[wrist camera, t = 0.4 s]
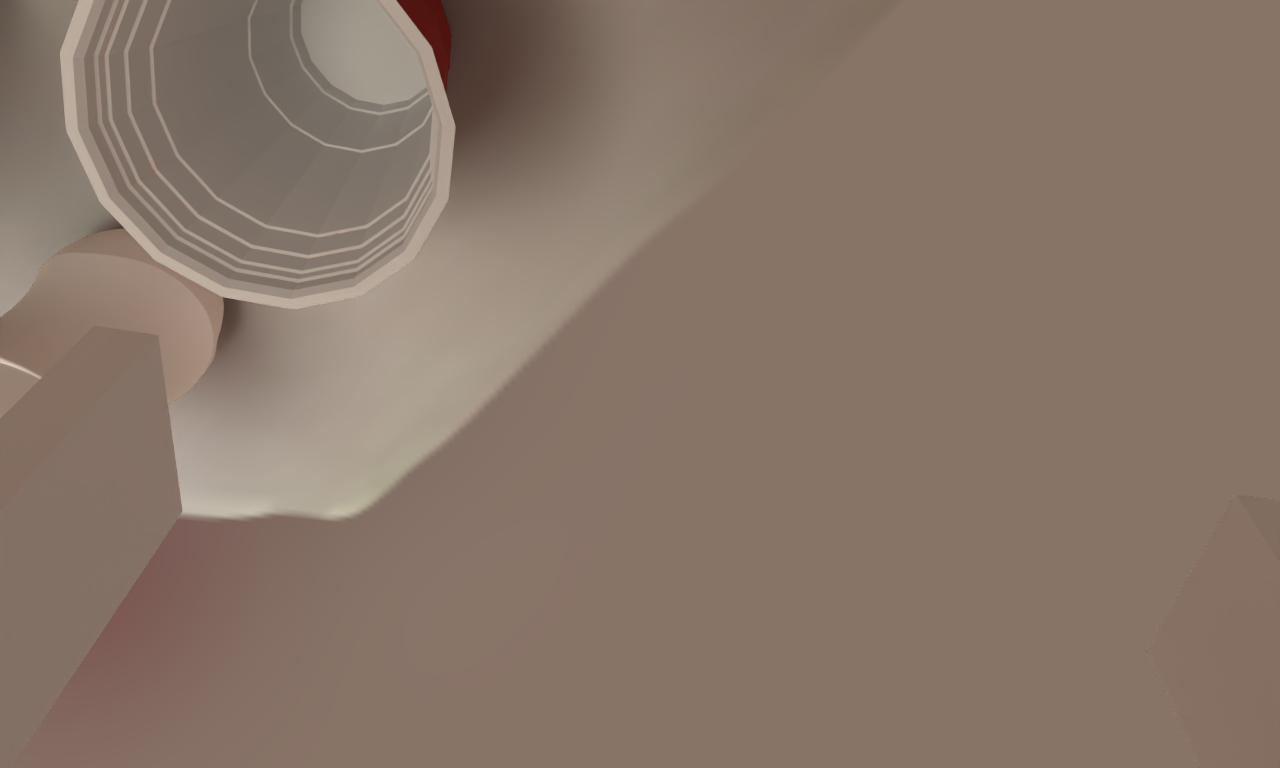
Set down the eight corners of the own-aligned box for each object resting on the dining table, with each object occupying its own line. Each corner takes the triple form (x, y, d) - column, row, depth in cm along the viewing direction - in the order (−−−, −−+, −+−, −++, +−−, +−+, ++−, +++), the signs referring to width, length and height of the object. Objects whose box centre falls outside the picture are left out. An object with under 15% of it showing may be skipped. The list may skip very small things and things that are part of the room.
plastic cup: (562, -63, 37) (502, 20, 27) (475, 206, 42) (397, 359, 32) (256, -193, 35) (67, -157, 25) (207, 104, 41) (37, 231, 31)
